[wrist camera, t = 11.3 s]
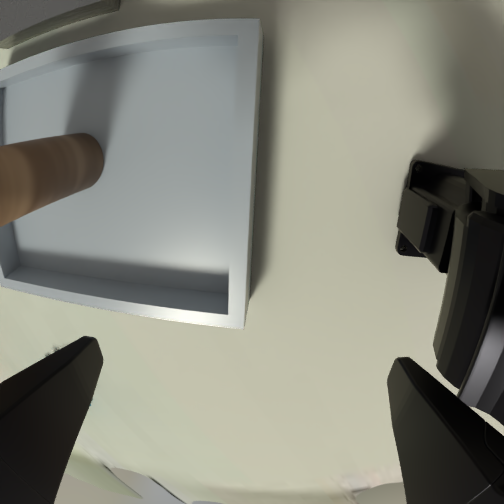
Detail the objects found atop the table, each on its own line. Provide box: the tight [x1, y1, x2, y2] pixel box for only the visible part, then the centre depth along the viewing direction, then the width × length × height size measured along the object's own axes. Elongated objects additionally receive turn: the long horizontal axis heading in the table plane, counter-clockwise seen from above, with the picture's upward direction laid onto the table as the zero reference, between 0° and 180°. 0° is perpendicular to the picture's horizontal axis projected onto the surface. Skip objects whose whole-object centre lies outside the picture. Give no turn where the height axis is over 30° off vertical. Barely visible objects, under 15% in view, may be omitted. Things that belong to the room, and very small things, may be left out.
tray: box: [0, 18, 264, 329], centre depth 18 cm, size 22×18×4 cm
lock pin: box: [0, 133, 104, 227], centre depth 12 cm, size 4×4×14 cm
